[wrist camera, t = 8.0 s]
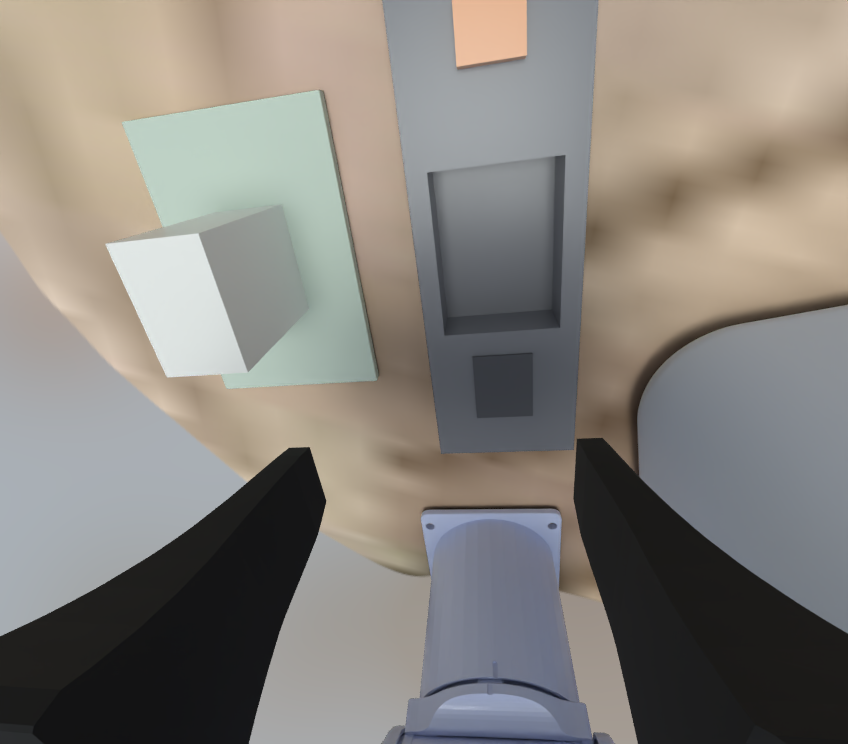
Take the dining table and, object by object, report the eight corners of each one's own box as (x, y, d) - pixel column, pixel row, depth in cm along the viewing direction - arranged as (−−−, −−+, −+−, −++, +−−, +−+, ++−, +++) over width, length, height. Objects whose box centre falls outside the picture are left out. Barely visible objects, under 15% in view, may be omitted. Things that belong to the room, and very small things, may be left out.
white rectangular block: (309, 309, 19) (248, 372, 14) (248, 313, 20) (167, 377, 15) (281, 204, 17) (198, 233, 12) (214, 212, 18) (105, 244, 13)
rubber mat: (378, 375, 21) (376, 380, 21) (231, 383, 22) (226, 388, 22) (323, 91, 16) (318, 89, 15) (130, 122, 17) (121, 122, 16)
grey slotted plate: (563, 417, 21) (576, 458, 19) (444, 422, 22) (440, 462, 20) (582, -72, 13) (611, -128, 10) (389, -33, 14) (369, -74, 11)
